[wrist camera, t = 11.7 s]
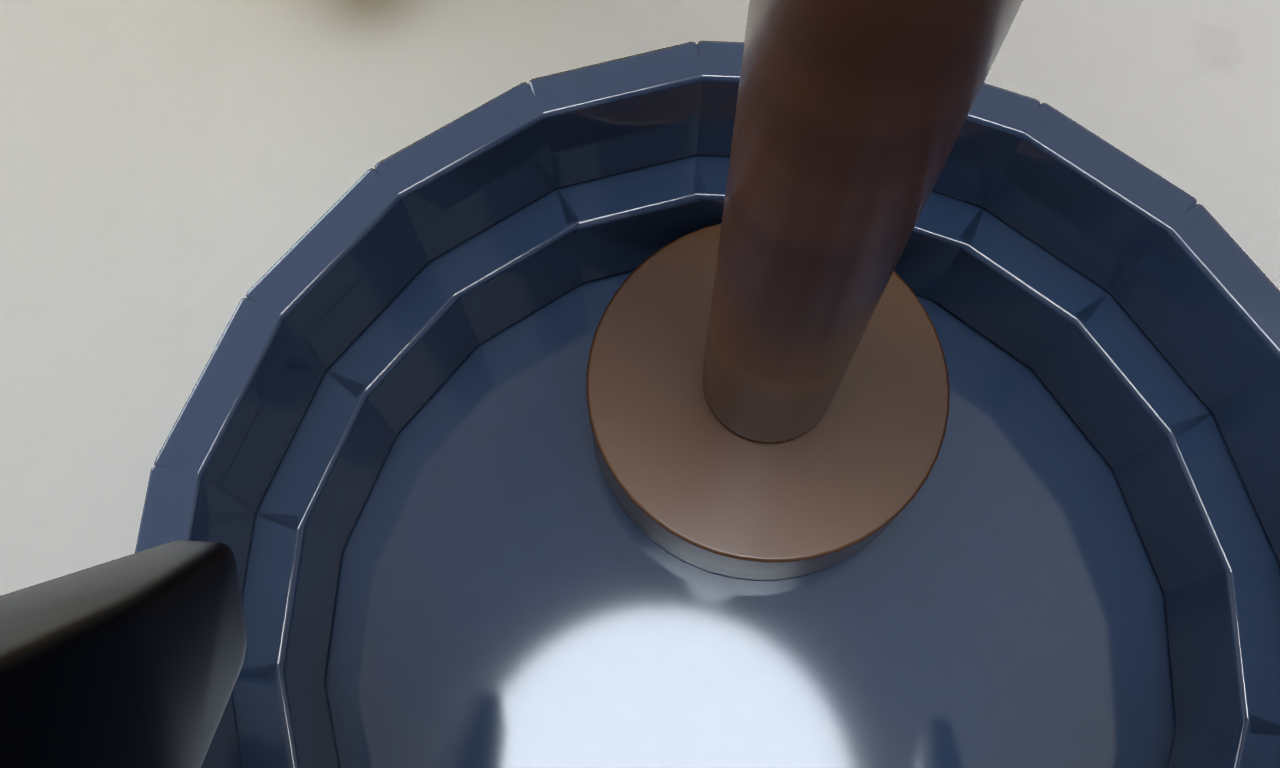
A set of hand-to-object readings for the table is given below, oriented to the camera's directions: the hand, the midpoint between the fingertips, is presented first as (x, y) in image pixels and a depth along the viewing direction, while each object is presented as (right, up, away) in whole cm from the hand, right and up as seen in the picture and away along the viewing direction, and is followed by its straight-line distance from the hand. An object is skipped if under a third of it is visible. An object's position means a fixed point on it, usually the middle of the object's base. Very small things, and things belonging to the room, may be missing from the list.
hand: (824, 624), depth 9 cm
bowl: (0, -2, +8) cm, 8 cm away
